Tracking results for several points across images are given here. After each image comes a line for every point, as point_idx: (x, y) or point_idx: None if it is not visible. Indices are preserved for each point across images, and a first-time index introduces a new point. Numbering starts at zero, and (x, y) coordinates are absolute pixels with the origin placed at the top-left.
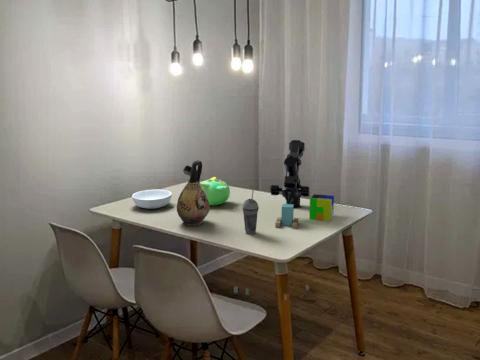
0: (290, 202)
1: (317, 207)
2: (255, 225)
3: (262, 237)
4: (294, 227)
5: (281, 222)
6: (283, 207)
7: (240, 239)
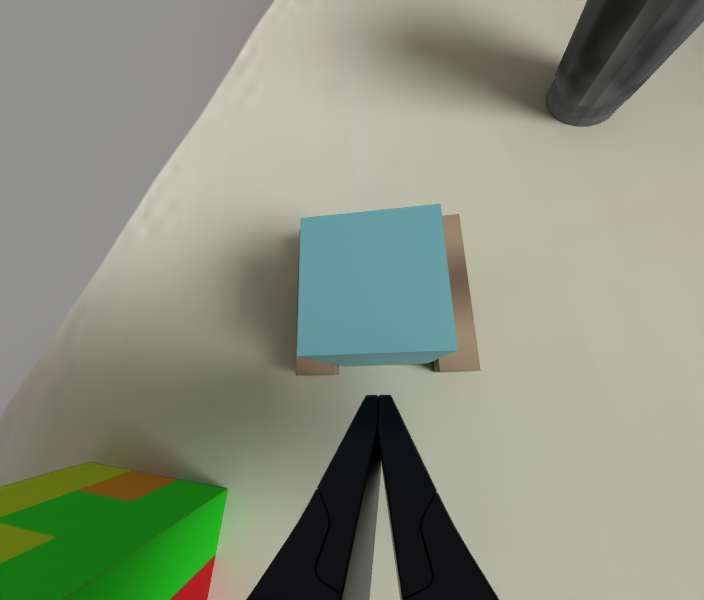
0: (348, 437)
1: (59, 530)
2: (574, 31)
3: (480, 64)
4: None
5: None
6: (414, 211)
7: None
